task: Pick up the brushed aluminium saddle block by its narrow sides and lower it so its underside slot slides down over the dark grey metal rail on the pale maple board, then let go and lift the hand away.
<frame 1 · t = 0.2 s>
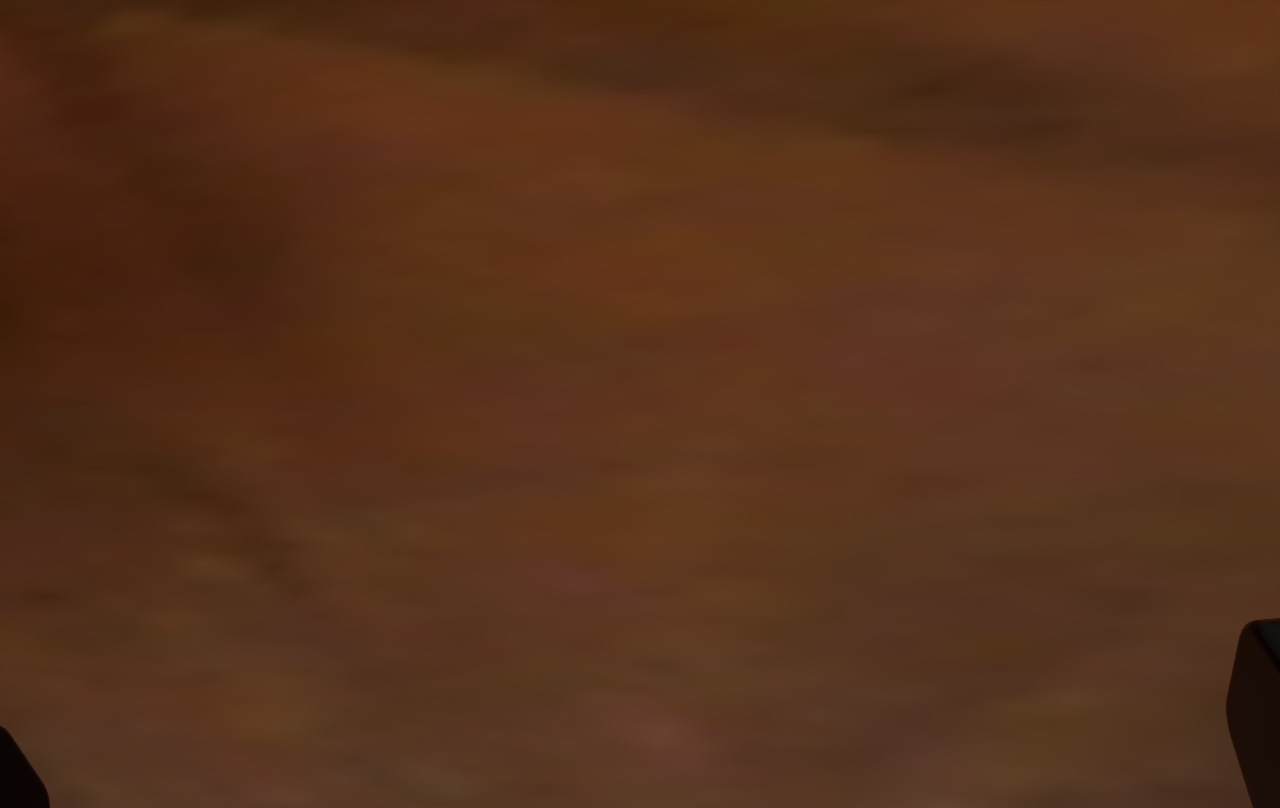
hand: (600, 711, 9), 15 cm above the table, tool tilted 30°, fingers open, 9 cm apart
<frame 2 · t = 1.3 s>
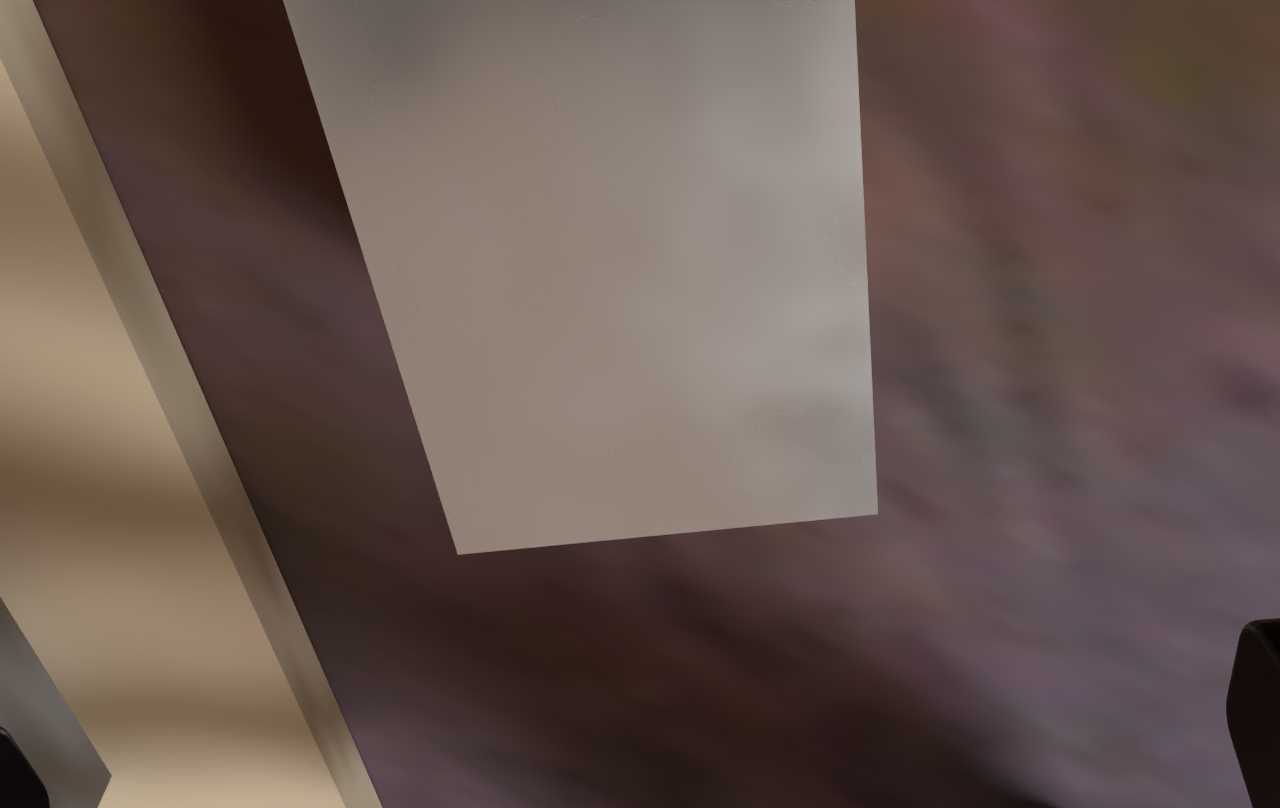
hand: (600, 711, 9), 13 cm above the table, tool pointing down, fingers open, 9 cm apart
saddle block: (628, 76, 20), on the table
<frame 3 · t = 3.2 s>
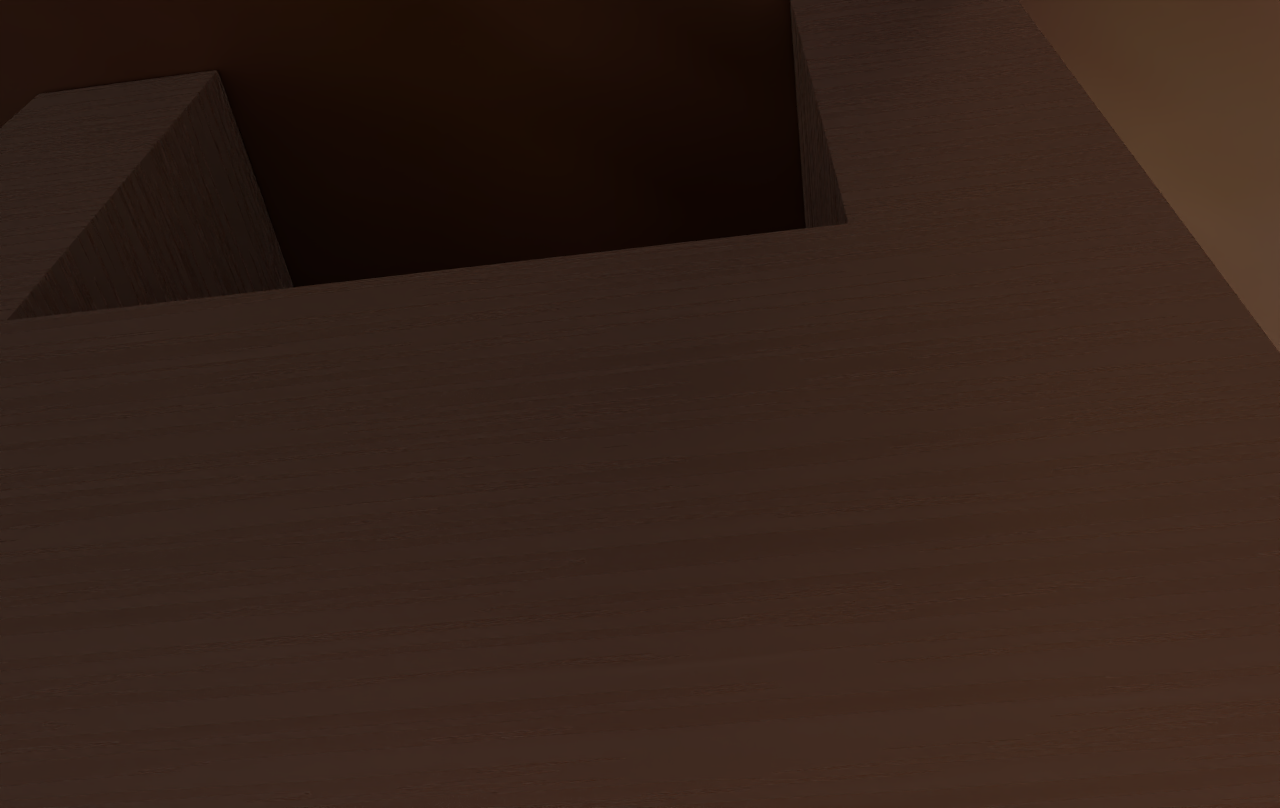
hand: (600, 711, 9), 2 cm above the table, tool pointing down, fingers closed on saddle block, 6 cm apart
saddle block: (609, 565, 10), on the table, touching gripper
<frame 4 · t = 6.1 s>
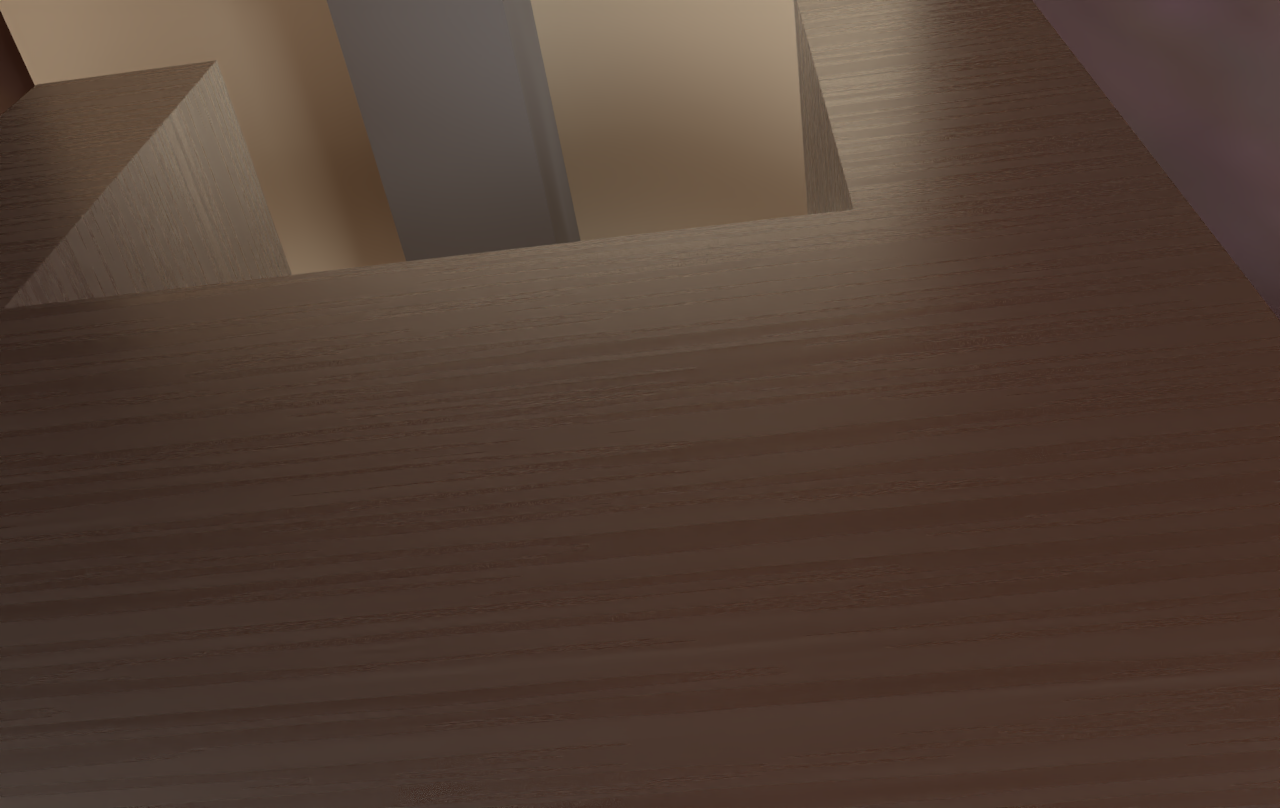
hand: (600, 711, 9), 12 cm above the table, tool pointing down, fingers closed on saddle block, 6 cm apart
saddle block: (610, 560, 10), point 10 cm above the table, touching gripper
rail board: (519, 181, 19), on the table
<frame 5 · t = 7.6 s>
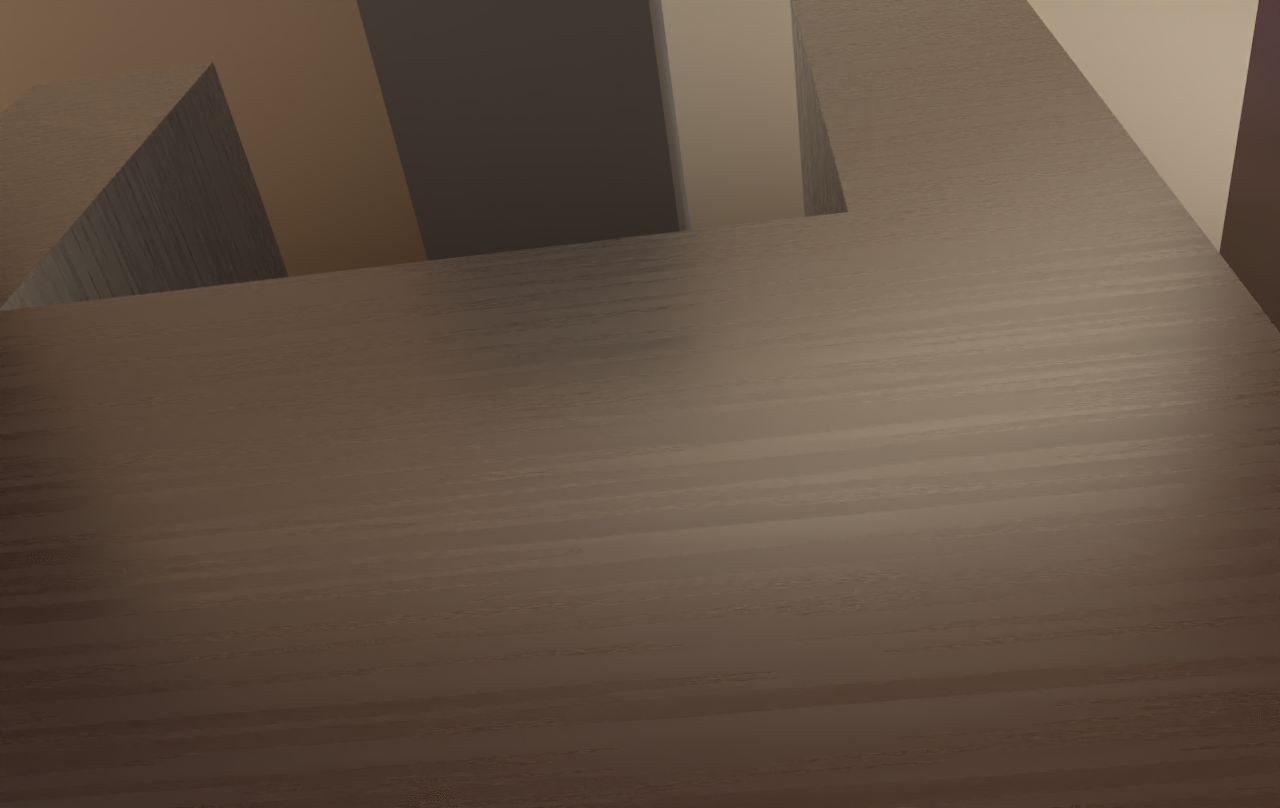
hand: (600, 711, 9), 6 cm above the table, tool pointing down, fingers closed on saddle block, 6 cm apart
saddle block: (607, 561, 10), point 5 cm above the table, touching gripper
rail board: (613, 283, 14), on the table
when the fingers open (4 cm above the table, at t = 9.0 s): saddle block stays where it is, resting on rail board.
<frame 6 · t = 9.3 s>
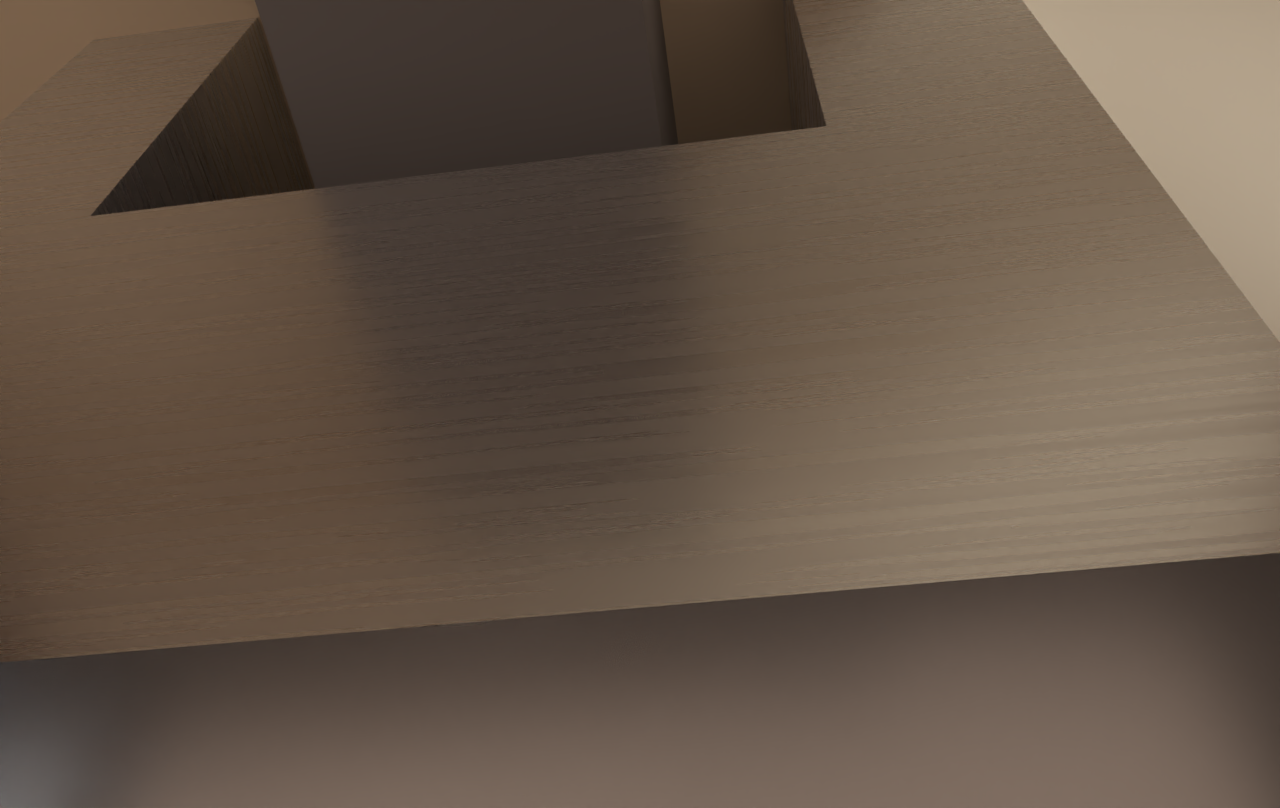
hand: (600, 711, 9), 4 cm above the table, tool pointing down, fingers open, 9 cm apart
saddle block: (612, 490, 11), point 1 cm above the table, touching rail board
rail board: (616, 393, 12), on the table
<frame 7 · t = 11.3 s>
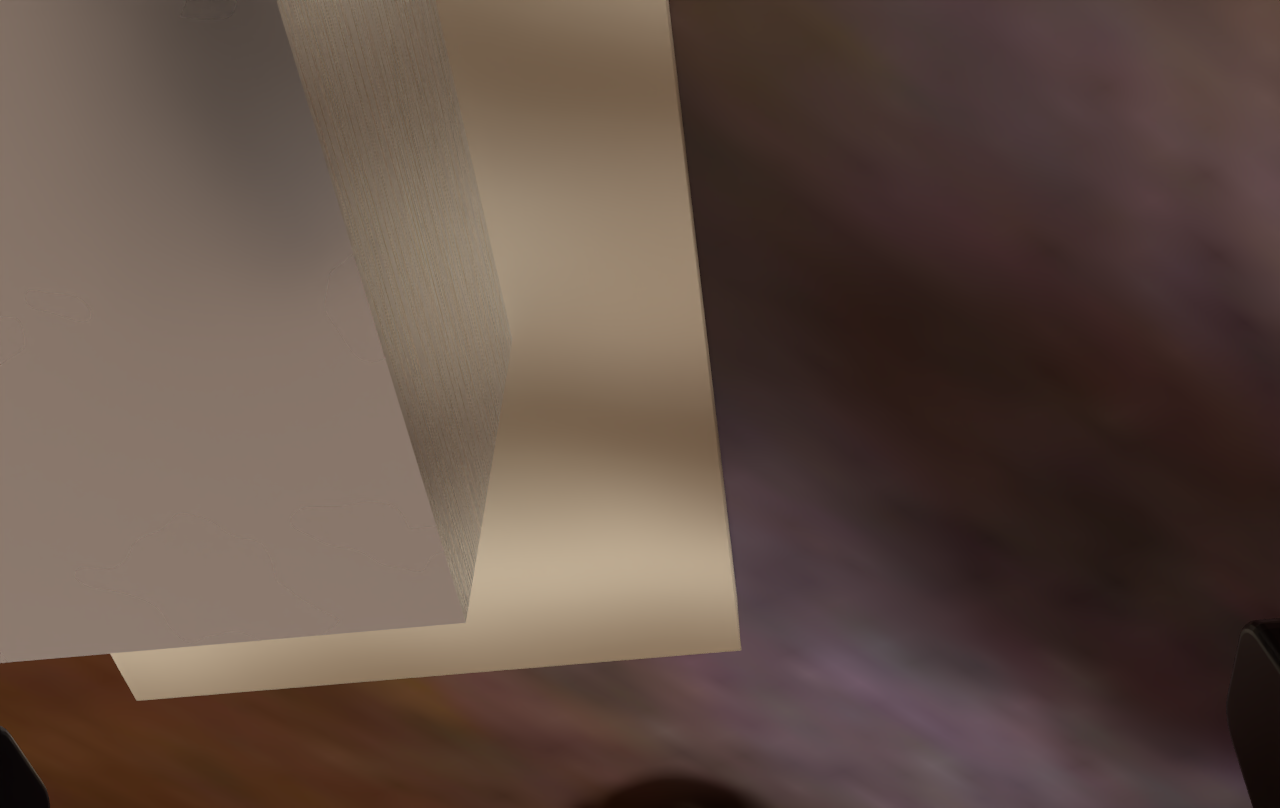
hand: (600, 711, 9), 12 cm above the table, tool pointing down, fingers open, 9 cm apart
saddle block: (233, 87, 17), point 1 cm above the table, touching rail board
rail board: (260, 48, 18), on the table
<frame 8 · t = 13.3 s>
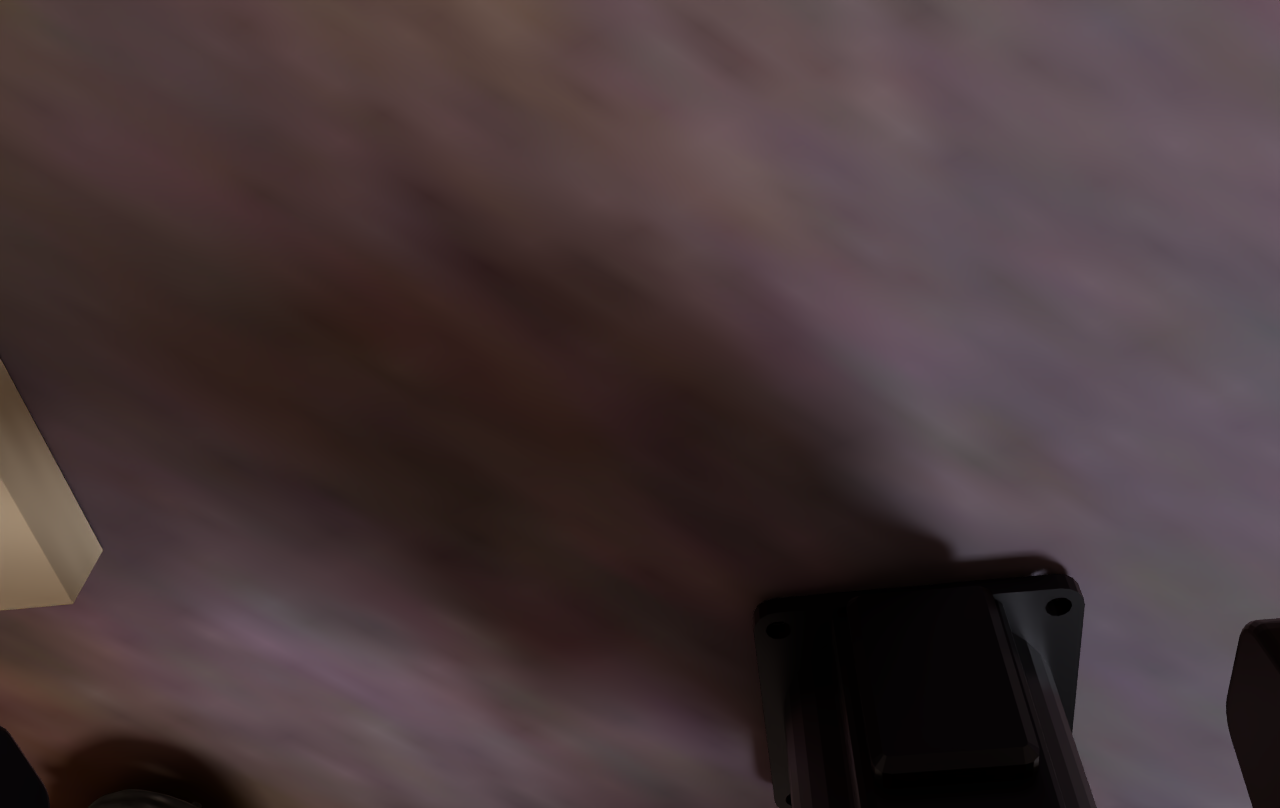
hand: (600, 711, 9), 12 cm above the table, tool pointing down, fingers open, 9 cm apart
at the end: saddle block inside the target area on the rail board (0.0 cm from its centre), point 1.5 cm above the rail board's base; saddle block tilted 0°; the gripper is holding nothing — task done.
